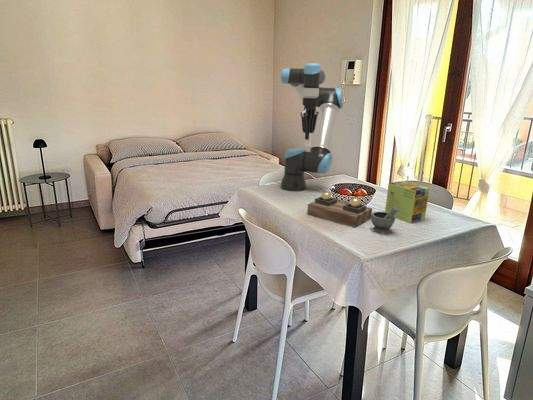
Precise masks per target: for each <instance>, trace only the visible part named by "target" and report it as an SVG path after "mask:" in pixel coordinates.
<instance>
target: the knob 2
mask: <svg viewBox="0 0 533 400" xmlns="http://www.w3.org/2000/svg"><path fill="white" fill-rule="evenodd" d="M349 203H350V207H353V208H357V209H358V208H360V204H361V198H359V197H351V198H350V201H349Z"/></svg>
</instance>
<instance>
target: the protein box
mask: <svg viewBox="0 0 533 400" xmlns="http://www.w3.org/2000/svg"><path fill="white" fill-rule="evenodd" d="M430 190H431V189H430V187H428V186H424V185H420V184H417V183H412V182H408V181H405V180H401V181H394V182H389V183H388V187H387V193H386V194H387V195H386V200H385V201H386V202H385V207H384V208H385V209H384V212H387V213H389V212H390V211H391V209H392V207H393V206H395V207H397V208H398V209H399V211H398V212H396V214H395V215H394V216H395V219H398V220H401V221H405V222H407V223H409V224H413V223H417V222H420V221H424V220H425V219H426V213H427V207H428V200H429V193H430Z"/></svg>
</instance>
